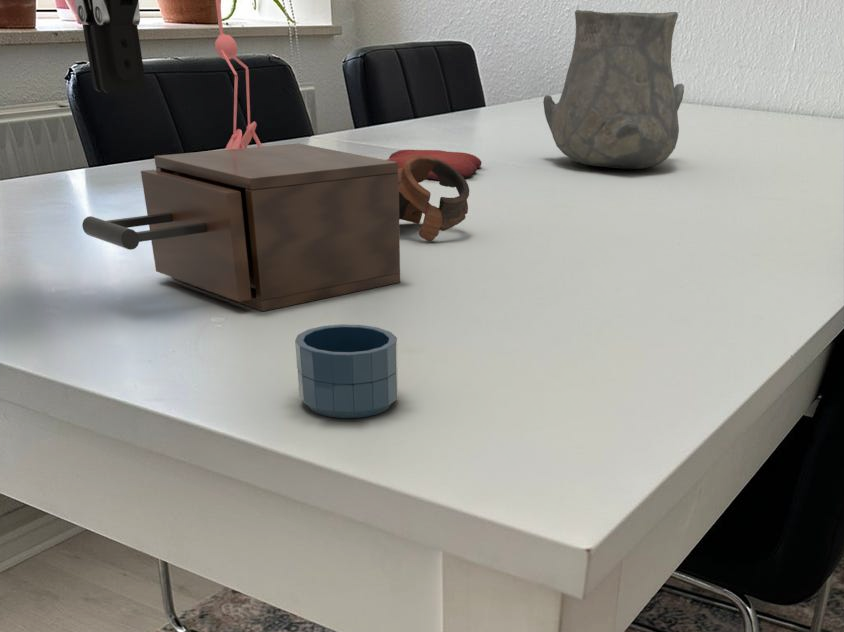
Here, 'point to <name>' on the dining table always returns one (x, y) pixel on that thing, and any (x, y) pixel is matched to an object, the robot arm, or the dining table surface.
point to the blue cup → (347, 370)
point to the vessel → (618, 92)
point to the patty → (457, 160)
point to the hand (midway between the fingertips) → (120, 90)
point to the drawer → (190, 232)
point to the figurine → (235, 87)
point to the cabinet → (308, 218)
